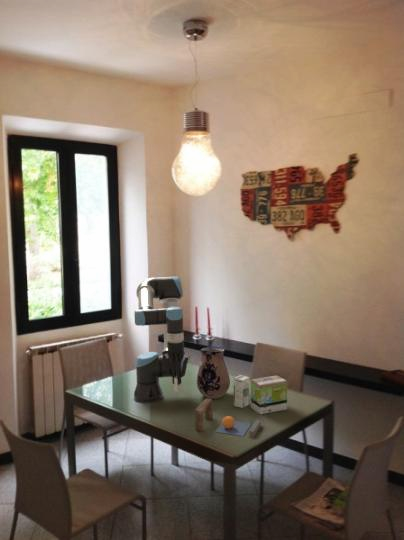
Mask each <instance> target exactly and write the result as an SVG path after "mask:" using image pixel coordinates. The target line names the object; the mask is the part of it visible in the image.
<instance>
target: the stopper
mask: <svg viewBox="0 0 404 540" xmlns="http://www.w3.org/2000/svg"><path fill="white" fill-rule="evenodd" d="M261 426H262V421H261V420H260V419H256V420H255V422H254V423H253V424H252V425H251V428H250V429H249V432H248V436H249V437H250V438H254V437H256V435H257V433H258V431H259V429H261Z"/></svg>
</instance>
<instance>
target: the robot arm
mask: <svg viewBox="0 0 404 540" xmlns="http://www.w3.org/2000/svg"><path fill="white" fill-rule="evenodd" d="M135 294H136V297H137V299H138V300H137V301H138V309H135V310H134V313H133V314H134V324H135V326H139V327H140V326H142V327H143V326H156V325H158V326H160V325H163V341H164V342H163V345H164V346H163V347H164V349H163V350H162V351H161V354H158V352H157V351H149V352H143V353H141V354H138V356H137V357H136V358H135V367H136V369H135V371H136V385H135V389H134V392H133V399H134V400H135V401H136V400H137V401H136V402H139V401H140V402H139V403H153V401H154V402H158V401H159V400H161V399H163V397H164V394H163V390H162V387H161V384H160V378H172V380H171V381H172V384H173V386H174V387H173V388H174V392H175V393H178V392H179V391H180V389H181V387H180V386H181V384H182V378H183V377H185V376H186V372H187V366H188V362H189V360H190V356H189V355H187V353H186V352H185V342H184V340H185V337H184V336H185V335H184V312H183V308H182V307H180V306H179V303H180V302H181V298H183V297H184V292H183V286H182V281H181V278H180V277H178V276H162V277H161V276H158V277H155V276H154V277H149V278H146V279H144V280H143V281H141V283H140V284H139V285H138V286H137V287H136V292H135ZM154 299H158V300H159V303H160V304H161V305H162V306H161V307H162V308H155V305H154ZM157 400H158V401H157Z"/></svg>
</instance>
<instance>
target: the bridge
mask: <svg viewBox="0 0 404 540" xmlns="http://www.w3.org/2000/svg"><path fill="white" fill-rule="evenodd" d="M213 411H214V409H213V399H212V398H205V399H204V400H203V401H202V402H201V403H200V404H199V405H198V406H197V407H196V408H195V409H194V429H195V431H198V430H201V431H200V432H202V431H203V430H204V419H205V420H211V421H212V420H213V418H214V416H213ZM203 412H204V413H203ZM203 414H204V415H203ZM204 417H205V418H204ZM202 429H203V430H202Z"/></svg>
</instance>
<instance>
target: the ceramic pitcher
mask: <svg viewBox="0 0 404 540" xmlns="http://www.w3.org/2000/svg"><path fill="white" fill-rule="evenodd" d="M225 351H226V350H225V349H224V347H223V346H221V345H217V346H206V347H203V348H201V349H200V353H201V359H200V363H199V367H198V371H197V374H196V386H197V389H198V392H199V393H200V394H201V395H202V396H203V397H205V398H206V399H212V400H213V399H219V398H222V397H224V396H225V395H226V394H227V392H228V390H229V389H230V385H231V379H230V374H229V371H228V368H227V365H226V362H225V360H224V353H225Z"/></svg>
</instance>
